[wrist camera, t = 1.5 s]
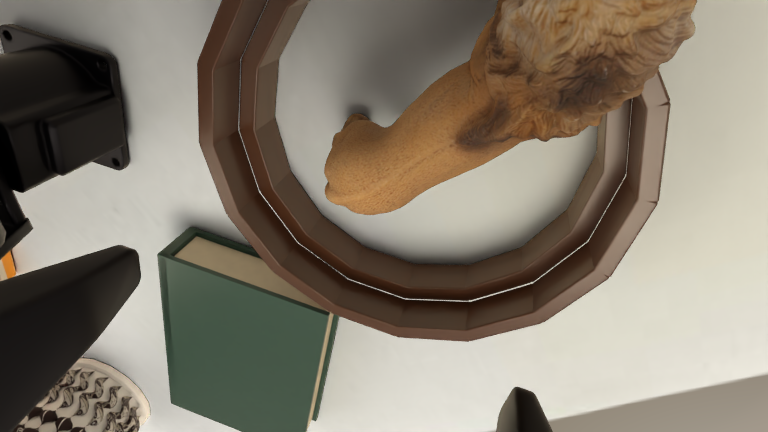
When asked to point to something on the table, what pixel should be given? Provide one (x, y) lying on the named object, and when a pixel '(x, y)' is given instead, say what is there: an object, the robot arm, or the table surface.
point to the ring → (387, 271)
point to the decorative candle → (89, 402)
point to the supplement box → (7, 267)
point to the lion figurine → (508, 94)
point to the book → (241, 337)
